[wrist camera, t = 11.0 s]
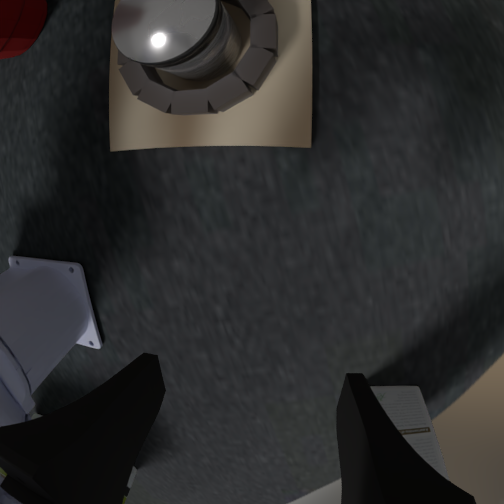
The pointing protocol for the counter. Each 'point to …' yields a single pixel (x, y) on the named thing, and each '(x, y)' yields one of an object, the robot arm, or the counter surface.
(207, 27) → the silver capped cylinder
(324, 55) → the counter surface
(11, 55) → the plastic cup
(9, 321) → the robot arm
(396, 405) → the syrup box
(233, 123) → the mount plate
